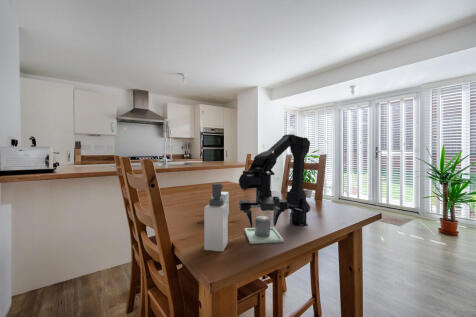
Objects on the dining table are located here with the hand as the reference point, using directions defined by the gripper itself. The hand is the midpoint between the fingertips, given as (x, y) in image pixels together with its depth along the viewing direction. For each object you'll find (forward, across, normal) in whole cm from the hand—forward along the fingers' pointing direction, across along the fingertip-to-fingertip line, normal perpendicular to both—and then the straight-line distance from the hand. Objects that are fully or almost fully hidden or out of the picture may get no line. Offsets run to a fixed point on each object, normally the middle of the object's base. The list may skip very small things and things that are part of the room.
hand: (262, 226), depth 83 cm
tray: (+4, 0, 0) cm, 4 cm away
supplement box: (+4, -16, +25) cm, 30 cm away
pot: (+4, 0, +1) cm, 4 cm away
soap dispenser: (+4, -18, -6) cm, 19 cm away
